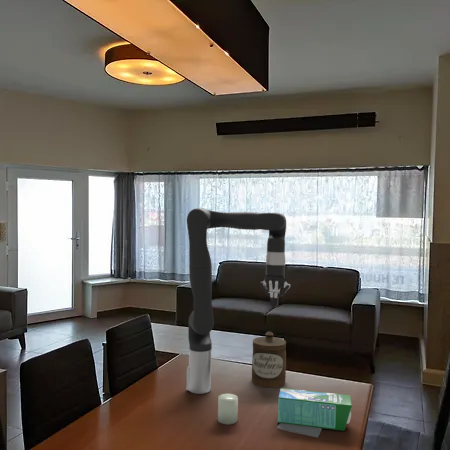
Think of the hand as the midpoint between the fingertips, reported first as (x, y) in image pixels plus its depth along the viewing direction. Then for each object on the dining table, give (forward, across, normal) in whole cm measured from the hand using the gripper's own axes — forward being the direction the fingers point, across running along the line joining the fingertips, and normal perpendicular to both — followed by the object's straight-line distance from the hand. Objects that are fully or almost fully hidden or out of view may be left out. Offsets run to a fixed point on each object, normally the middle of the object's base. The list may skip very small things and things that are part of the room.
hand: (274, 306), depth 178 cm
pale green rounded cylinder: (+37, -9, -24) cm, 45 cm away
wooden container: (+37, -7, +18) cm, 42 cm away
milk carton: (+32, +7, -15) cm, 36 cm away
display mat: (+37, +16, -16) cm, 43 cm away
